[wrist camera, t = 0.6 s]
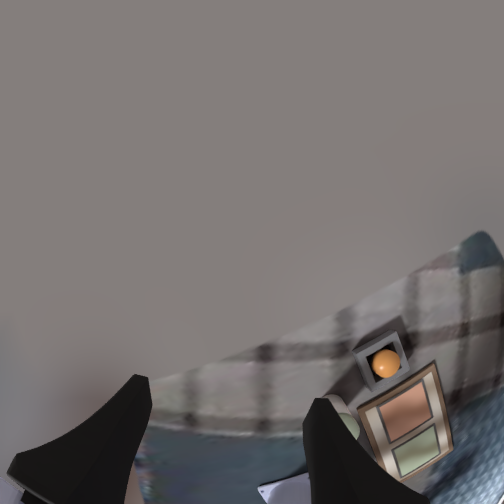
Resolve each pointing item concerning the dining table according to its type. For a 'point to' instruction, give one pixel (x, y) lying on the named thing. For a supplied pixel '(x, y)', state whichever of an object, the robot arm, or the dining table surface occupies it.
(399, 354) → the button housing
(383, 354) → the button
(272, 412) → the dining table surface
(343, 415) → the white and green cylinder
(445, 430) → the picture board
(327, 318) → the dining table surface
